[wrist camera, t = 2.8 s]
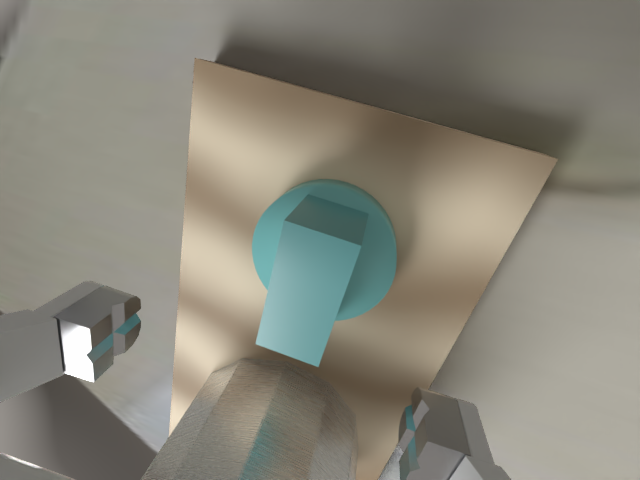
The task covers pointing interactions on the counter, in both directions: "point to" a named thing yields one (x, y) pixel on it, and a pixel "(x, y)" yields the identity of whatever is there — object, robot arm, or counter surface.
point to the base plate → (394, 196)
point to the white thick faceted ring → (261, 428)
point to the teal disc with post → (320, 264)
